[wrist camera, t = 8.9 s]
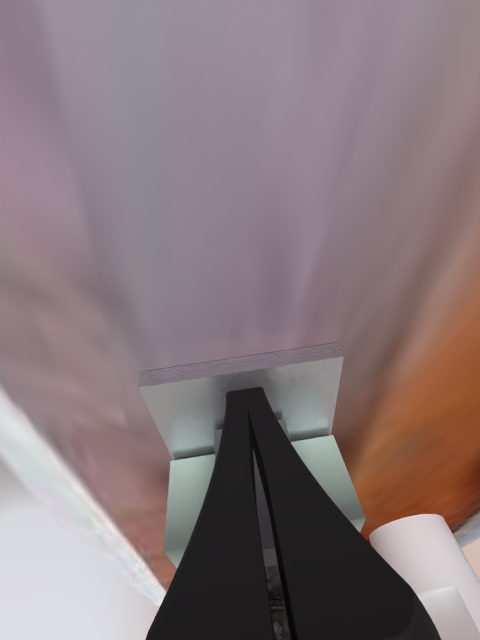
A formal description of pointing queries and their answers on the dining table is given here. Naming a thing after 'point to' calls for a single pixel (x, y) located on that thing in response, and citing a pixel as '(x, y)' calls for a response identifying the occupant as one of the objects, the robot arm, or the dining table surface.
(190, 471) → the vise jaw
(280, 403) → the plate
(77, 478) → the dining table surface
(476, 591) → the cylinder with rectangular tab
